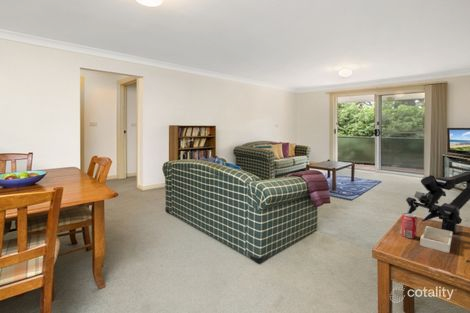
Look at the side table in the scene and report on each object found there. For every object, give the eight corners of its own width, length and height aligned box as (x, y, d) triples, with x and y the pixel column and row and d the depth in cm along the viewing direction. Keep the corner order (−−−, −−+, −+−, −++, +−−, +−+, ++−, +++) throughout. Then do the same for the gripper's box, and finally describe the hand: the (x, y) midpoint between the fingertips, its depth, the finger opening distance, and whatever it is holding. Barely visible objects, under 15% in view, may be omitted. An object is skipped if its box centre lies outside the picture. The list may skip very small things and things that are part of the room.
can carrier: (425, 232, 141) (426, 226, 141) (451, 238, 134) (452, 231, 133) (419, 245, 126) (420, 237, 125) (449, 253, 118) (449, 244, 118)
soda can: (411, 234, 140) (412, 212, 138) (419, 239, 133) (421, 217, 131) (397, 233, 140) (399, 212, 139) (404, 238, 133) (406, 216, 132)
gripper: (409, 183, 145) (392, 203, 143) (443, 190, 127) (423, 213, 125) (419, 195, 147) (402, 215, 146) (453, 205, 129) (434, 227, 128)
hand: (414, 217), depth 136 cm, fingers open, 9 cm apart
